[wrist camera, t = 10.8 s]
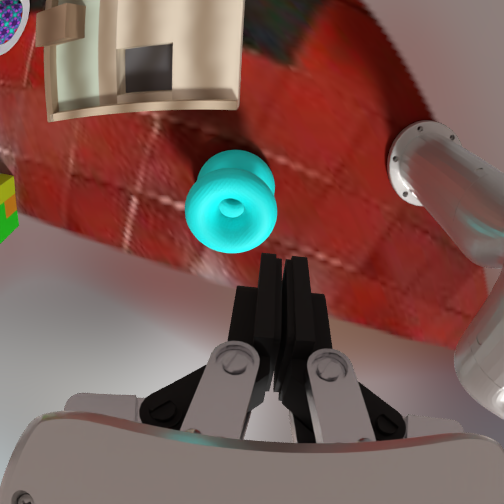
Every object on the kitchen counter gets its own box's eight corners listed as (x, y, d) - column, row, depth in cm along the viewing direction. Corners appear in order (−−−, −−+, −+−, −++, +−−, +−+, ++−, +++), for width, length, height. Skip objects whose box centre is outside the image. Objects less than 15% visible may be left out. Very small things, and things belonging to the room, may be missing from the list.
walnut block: (85, 6, 24) (66, 2, 20) (84, 38, 26) (64, 37, 23) (57, 14, 24) (36, 13, 20) (56, 45, 26) (35, 47, 23)
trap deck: (250, -72, 21) (248, -86, 17) (239, 104, 35) (236, 110, 31) (69, -42, 21) (52, -47, 17) (65, 114, 35) (47, 122, 31)
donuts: (220, 153, 29) (297, 214, 32) (230, 131, 37) (290, 179, 40) (165, 223, 33) (236, 272, 36) (184, 187, 41) (241, 229, 45)
